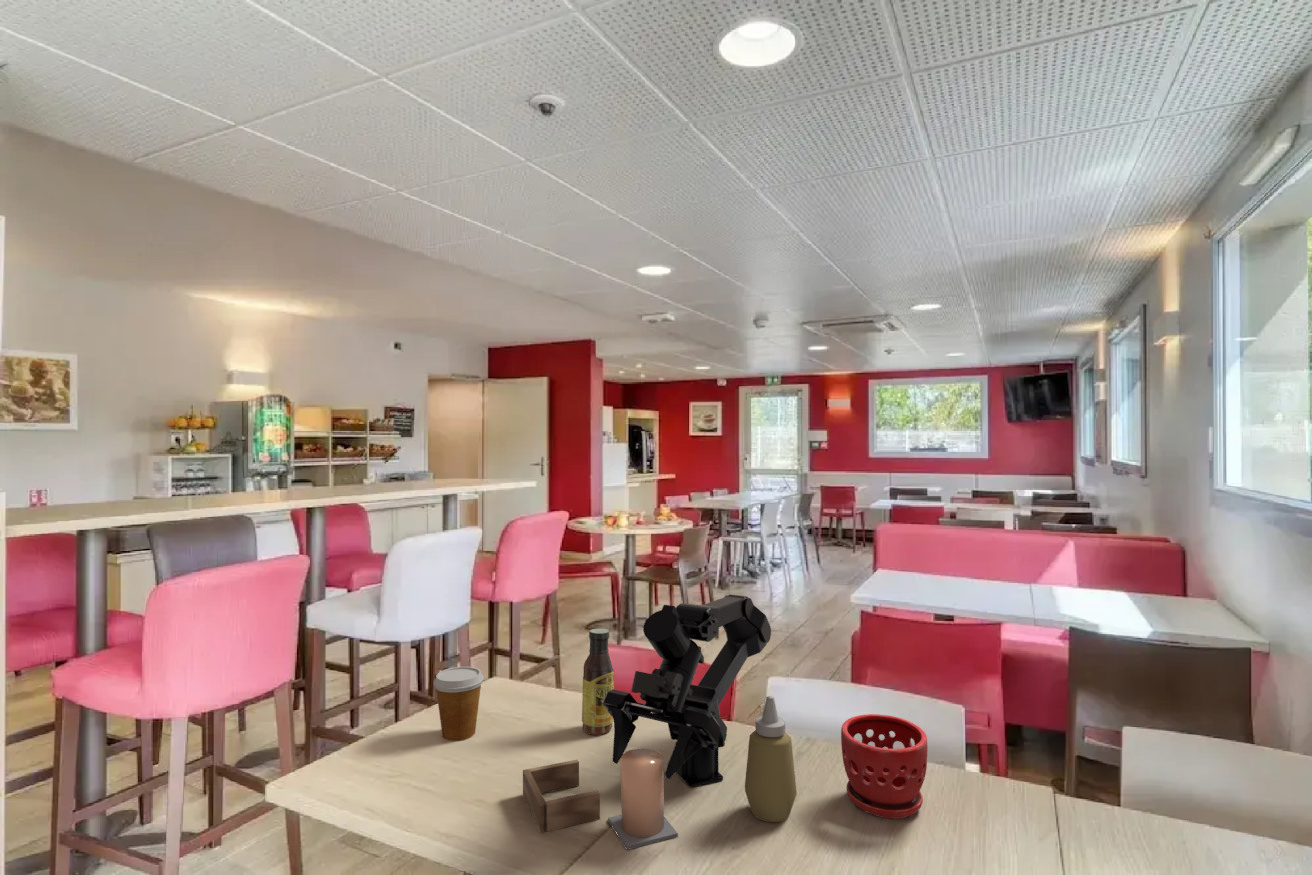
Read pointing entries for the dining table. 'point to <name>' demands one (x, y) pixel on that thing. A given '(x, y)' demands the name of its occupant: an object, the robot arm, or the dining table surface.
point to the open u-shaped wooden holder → (560, 809)
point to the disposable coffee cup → (458, 701)
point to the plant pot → (884, 765)
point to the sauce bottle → (597, 684)
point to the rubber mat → (634, 841)
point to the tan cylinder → (642, 792)
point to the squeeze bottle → (770, 767)
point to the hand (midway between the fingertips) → (640, 769)
